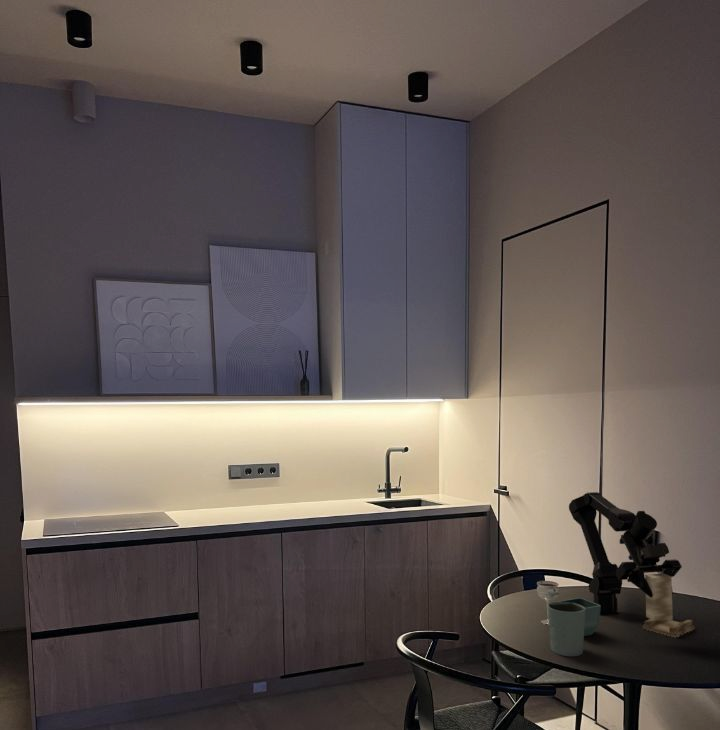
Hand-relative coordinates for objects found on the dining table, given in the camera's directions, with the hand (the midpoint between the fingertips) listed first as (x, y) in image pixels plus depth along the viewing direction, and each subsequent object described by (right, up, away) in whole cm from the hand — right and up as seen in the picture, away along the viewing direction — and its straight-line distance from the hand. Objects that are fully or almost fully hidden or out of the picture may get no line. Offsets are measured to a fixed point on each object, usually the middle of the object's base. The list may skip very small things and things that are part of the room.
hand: (661, 595), depth 190 cm
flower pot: (-21, -14, +8) cm, 26 cm away
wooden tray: (+7, -14, +12) cm, 20 cm away
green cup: (-29, -13, -6) cm, 32 cm away
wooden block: (0, -7, +1) cm, 7 cm away
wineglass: (-27, -15, +18) cm, 36 cm away
